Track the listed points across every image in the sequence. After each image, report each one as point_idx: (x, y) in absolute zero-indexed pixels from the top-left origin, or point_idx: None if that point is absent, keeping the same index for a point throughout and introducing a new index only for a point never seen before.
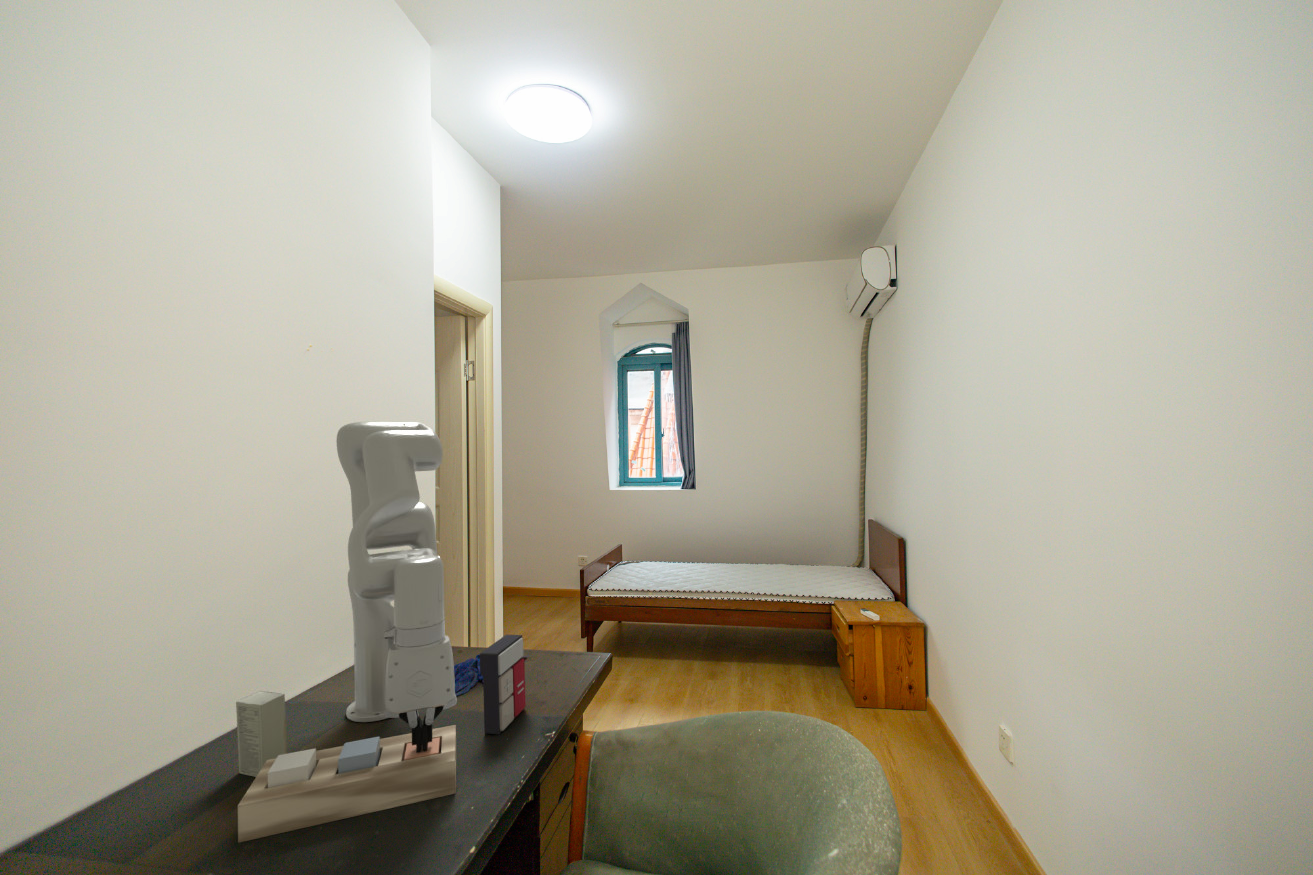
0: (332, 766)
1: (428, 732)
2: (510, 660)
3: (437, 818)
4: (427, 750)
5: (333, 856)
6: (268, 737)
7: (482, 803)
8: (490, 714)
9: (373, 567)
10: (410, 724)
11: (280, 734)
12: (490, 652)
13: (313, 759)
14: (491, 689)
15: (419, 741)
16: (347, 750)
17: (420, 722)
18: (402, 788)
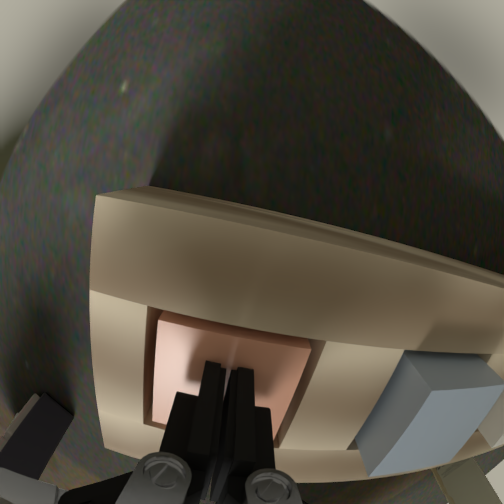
0: None
1: (184, 427)
2: None
3: (225, 83)
4: (204, 364)
5: (466, 115)
6: (480, 489)
7: (97, 93)
8: (39, 435)
9: None
10: (287, 489)
11: (460, 499)
12: None
13: (499, 419)
14: None
15: (237, 399)
16: (470, 424)
17: (220, 491)
18: (323, 230)
